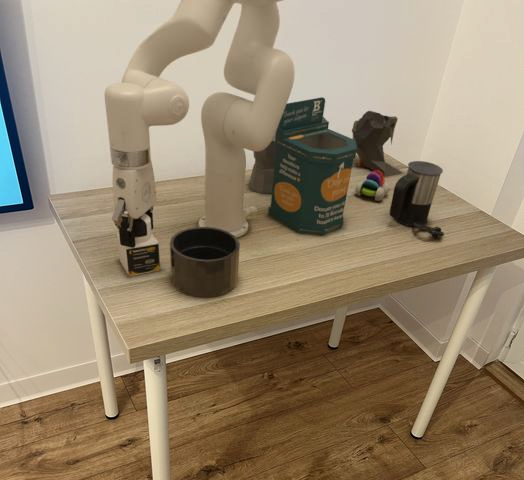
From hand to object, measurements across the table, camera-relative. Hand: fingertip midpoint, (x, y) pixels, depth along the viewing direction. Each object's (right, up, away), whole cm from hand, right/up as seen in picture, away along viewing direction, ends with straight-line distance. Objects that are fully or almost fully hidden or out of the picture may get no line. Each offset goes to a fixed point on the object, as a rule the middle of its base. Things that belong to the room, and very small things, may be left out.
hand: (137, 236), depth 113 cm
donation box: (+40, +10, +29) cm, 50 cm away
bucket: (+14, -9, +2) cm, 17 cm away
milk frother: (+69, +9, +31) cm, 76 cm away
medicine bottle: (-1, -6, +5) cm, 8 cm away
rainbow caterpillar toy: (+59, +21, +44) cm, 77 cm away
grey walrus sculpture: (+62, +36, +61) cm, 95 cm away
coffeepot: (+28, +23, +42) cm, 55 cm away
